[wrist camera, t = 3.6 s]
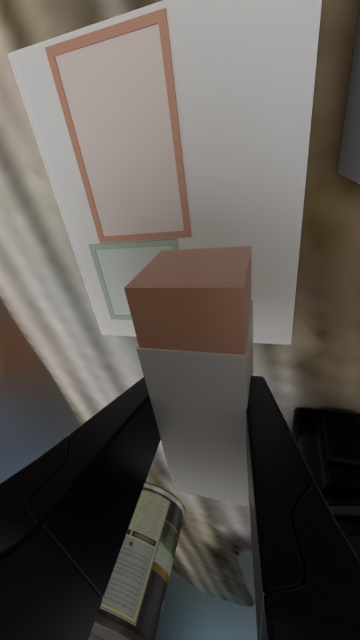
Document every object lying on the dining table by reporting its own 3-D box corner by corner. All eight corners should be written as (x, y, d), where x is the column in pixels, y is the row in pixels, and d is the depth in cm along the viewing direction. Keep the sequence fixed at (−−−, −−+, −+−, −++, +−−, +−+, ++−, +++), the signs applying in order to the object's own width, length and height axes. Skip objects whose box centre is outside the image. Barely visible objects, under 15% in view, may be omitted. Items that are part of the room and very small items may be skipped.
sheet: (290, 341, 20) (291, 346, 20) (103, 332, 25) (100, 335, 25) (325, -50, 11) (327, -58, 10) (12, 55, 16) (4, 52, 15)
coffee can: (200, 513, 39) (170, 666, 28) (158, 523, 45) (120, 653, 33) (144, 473, 37) (88, 619, 26) (109, 489, 43) (50, 613, 32)
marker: (252, 438, 11) (248, 506, 9) (191, 428, 12) (174, 490, 10) (253, 245, 7) (246, 288, 5) (160, 250, 8) (120, 288, 6)
